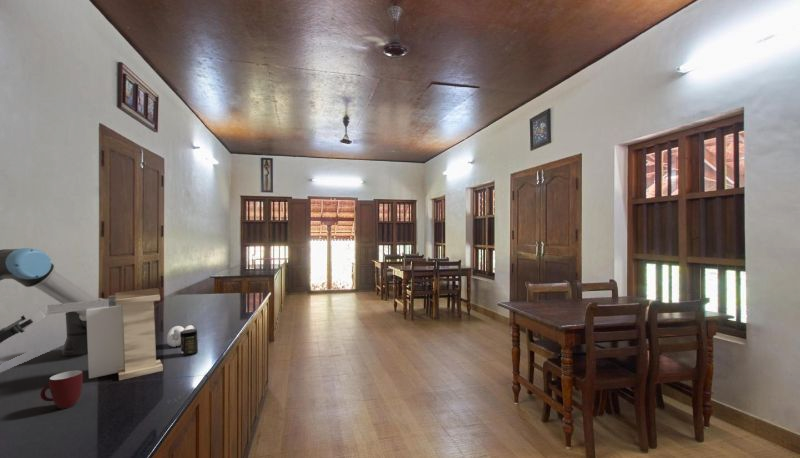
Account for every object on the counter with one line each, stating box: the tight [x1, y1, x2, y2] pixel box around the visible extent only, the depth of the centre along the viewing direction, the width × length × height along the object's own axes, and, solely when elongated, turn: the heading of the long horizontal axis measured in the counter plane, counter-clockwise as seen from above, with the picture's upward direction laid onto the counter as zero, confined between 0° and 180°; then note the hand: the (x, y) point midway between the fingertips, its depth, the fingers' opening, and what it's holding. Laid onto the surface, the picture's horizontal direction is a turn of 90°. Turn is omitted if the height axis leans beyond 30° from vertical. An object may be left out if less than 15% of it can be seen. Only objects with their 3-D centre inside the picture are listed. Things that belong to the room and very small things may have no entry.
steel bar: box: [46, 294, 120, 315], centre depth 149 cm, size 3×24×4 cm, turn 128°
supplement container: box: [180, 328, 199, 357], centre depth 171 cm, size 7×7×10 cm
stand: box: [114, 287, 164, 381], centre depth 151 cm, size 10×14×32 cm
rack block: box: [86, 305, 124, 379], centre depth 152 cm, size 8×11×26 cm
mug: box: [39, 369, 84, 410], centre depth 121 cm, size 11×8×10 cm
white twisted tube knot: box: [166, 324, 195, 348], centre depth 186 cm, size 11×12×9 cm
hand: (45, 311), depth 141 cm, fingers open, 13 cm apart
